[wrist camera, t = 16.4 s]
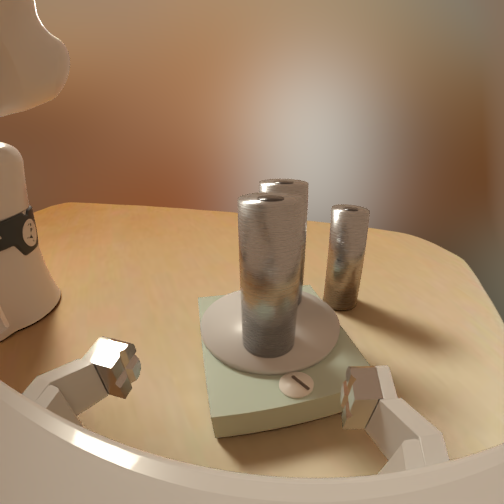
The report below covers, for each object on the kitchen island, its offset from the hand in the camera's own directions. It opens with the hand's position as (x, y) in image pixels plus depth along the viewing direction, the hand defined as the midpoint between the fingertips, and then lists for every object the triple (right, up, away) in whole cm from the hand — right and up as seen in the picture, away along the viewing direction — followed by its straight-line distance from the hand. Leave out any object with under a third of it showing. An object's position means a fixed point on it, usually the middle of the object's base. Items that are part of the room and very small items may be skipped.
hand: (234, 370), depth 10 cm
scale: (+3, -6, +17) cm, 18 cm away
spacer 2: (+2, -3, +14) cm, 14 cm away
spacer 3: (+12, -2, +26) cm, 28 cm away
